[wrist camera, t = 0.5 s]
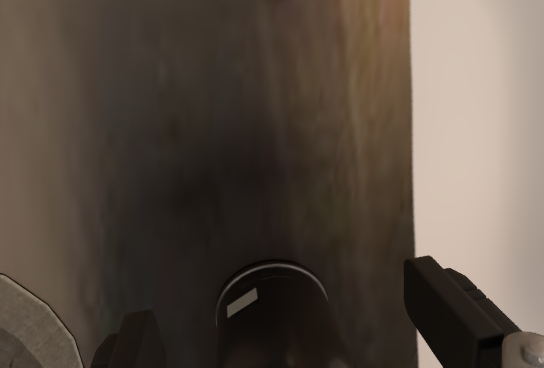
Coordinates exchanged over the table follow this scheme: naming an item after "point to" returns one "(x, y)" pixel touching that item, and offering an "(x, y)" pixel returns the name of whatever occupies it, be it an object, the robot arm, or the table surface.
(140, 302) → the table surface
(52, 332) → the pitcher
